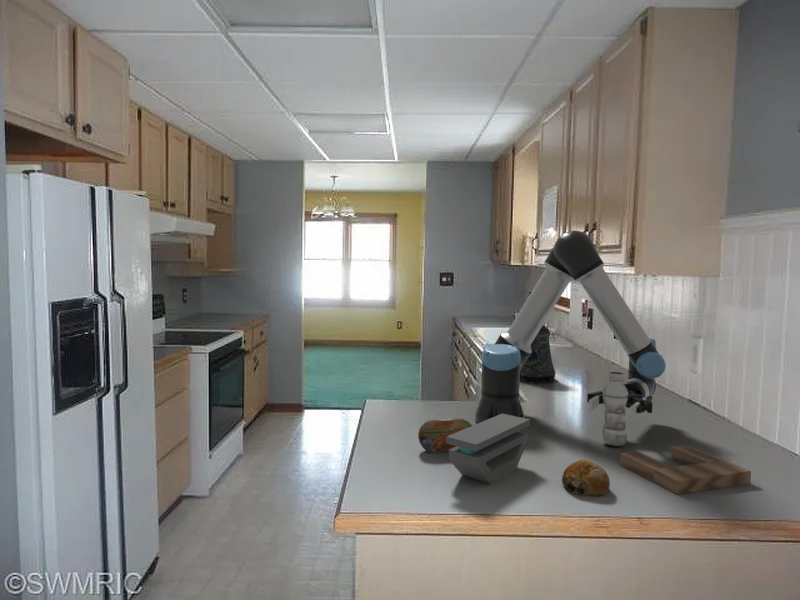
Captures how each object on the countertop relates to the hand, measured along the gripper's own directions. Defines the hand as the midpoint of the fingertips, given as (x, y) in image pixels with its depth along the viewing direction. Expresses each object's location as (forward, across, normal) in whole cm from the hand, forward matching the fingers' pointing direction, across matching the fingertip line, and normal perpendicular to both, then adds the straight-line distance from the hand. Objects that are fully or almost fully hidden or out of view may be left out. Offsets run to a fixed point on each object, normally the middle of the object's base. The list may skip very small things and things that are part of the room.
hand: (610, 408), depth 148 cm
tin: (+28, +34, -11) cm, 45 cm away
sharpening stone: (+35, +18, -11) cm, 41 cm away
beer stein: (-69, +52, -11) cm, 87 cm away
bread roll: (+29, -4, -11) cm, 32 cm away
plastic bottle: (-4, 0, -11) cm, 12 cm away
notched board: (+7, -19, -11) cm, 23 cm away
